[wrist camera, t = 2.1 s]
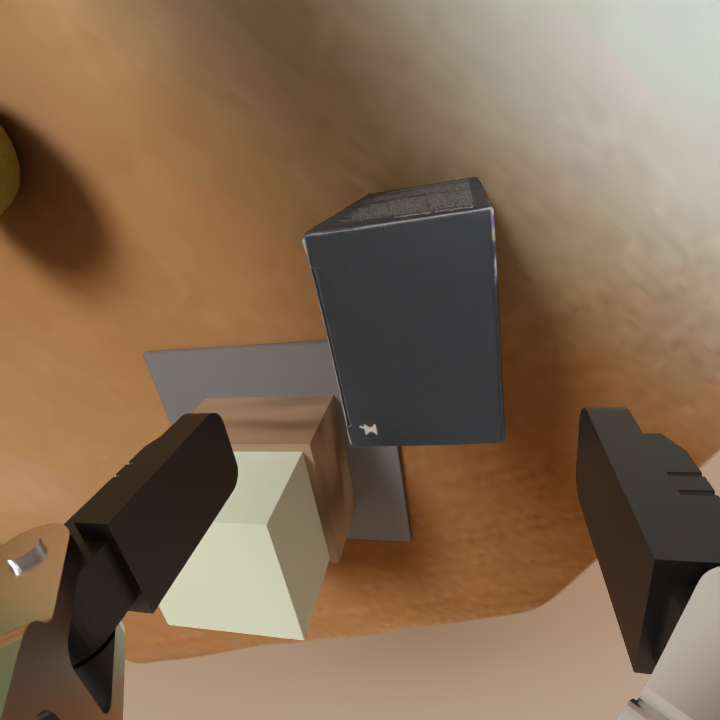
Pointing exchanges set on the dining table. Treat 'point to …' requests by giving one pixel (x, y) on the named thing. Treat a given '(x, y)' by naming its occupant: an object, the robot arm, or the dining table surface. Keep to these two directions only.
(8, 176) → the apple
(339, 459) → the block base
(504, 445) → the dining table surface
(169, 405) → the mat
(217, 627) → the block top
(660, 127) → the dining table surface
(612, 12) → the dining table surface
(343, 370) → the box
